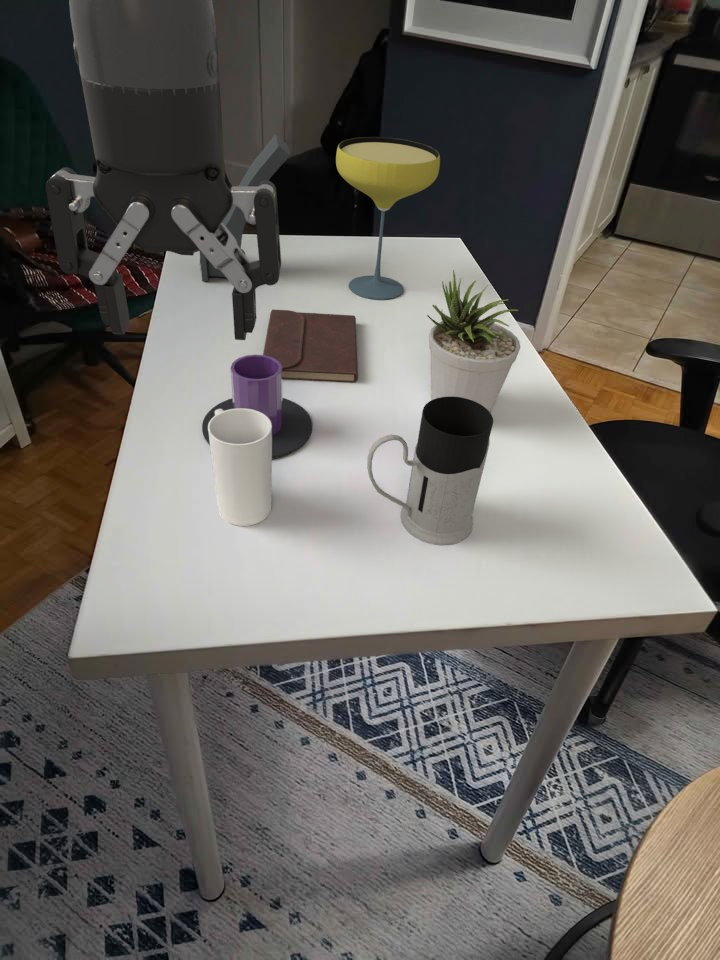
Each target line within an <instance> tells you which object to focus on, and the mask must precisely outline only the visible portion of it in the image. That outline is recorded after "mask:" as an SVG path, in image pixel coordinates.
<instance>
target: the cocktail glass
mask: <svg viewBox="0 0 720 960" xmlns="http://www.w3.org/2000/svg"><path fill="white" fill-rule="evenodd" d="M335 153H336V155H335V165H336V169H337V172H338V173H339V175H340V176H341V177H342V178H343V179H344V181H345V182H346V183H348V184H349V185H350V186H352V187H353V188H355V189H356V190H358V191H360V192H362V193H363V194H365V195H367V196H368V197H369V198H370V199H371V200H372V201H373V202H374V204H375V207H376V208H377V209H378V210H379V211H380V212H381V213H380V224H379V234H378V236H379V237H378V245H377V254H376V264H375V270H374V273H373V275H371V274H370V275H360V276H357V277H355V278H352V279H351V280H350V281H349V283H348V288H349V290H350V291H351V292H352V293H353V294H355V295H357V296H359V297H361V298H364V299H369V300H376V301H386V300H392V299H396V298H398V297H400V296H401V295H402V294H403V292H404V286H403V284H402V283H400V282H399V281H398V280H396V279H393V278H390V277H387V276H382V275H381V263H382V262H381V261H382V260H381V259H382V248H383V247H382V246H383V237H384V225H385V214H386V212H387V211H389V210H390V209H391V208H392V207H393V206H394V204H395V203H396V202H398V201H400V200H401V199H404V198H406V197H409V196H412V195H414V194H417V193H419V192H421V191H423V190H425V189H427V188H429V187H430V186H431V185H432V184H433V183H434V182H435V181H436V179H437V178H438V176H439V172H440V167H441V166H440V165H441V156H440V153H439V151H438V150H436V149H435V148H433V147H431V146H429V145H427V144H425V143H421V142H416V141H414V140H413V141H412V140H408V139H402V138H394V137H383V136H381V137H380V136H364V137H353V138H348V139H345V140H342V141H341V142H340V143H339V144H338V145H337V148H336V152H335Z"/></svg>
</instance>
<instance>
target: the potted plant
mask: <svg viewBox="0 0 720 960" xmlns="http://www.w3.org/2000/svg"><path fill="white" fill-rule="evenodd" d="M455 273H456V272H455V270H454V269H453V270H452V274H453V275H452V277H453V278H452V279H453V281H451V280H450V281H448V286H447V283H445V284H444V280H442V281H441V287H442V290H443V294H444V298H445V302H446V305H447V310H448V313H449V316H448V315H447V314H445V312H444V313H443V310H440V309H439V308H438V306H437V304H436V305H435V304H432V306H431V307H433V309H434V310H435V311H436V313H437V314H438V315H439V316H440V318H441V321H440V322H437V321H436V320H435V319H433V318H432V317H431V316H430V315H429V314H426V316H427V318H429V320H430V321H431V322H432V323H433V324H434V325H433V326H432V327H431V328H430V329H429V333H428V347H429V355H430V401H431V400H433V399H436V398H440V397H447V396H454V397H461V398H466V399H470V400H472V401H475V402H477V403H479V404H481V405H482V406H484V407H485V408H486V409H487V410H488V411H489V412H490V413H491V412H492V411H493V408H494V406H495V404H496V402H497V399H498V398H499V395H500V393H501V392H502V391H501V390H502V388H503V386H504V384H505V381H506V380H507V377H508V375H509V373H510V370H511V368H512V366H513V364H514V363H515V362H516V360H517V357H518V355H519V352H520V351H521V342H520V340H519V338H518V337H517V335H515V334H514V333H513V332H512V331H511V330H509V329H507V328H505V327H504V326H506V327H509V328H510V325H509V324H507V323H505V322H504V321H502V320H500V319H497V317H498V316H500V315H503V314H505V313H510V312H519V311H520V310H519V309H511V308H510V309H503V310H499V311H496V312H495V313H493V314H490V315H488V316H486V317H485V318H482V319H480V317H481V316H483V315H484V314H485V313H487V312H488V311H489V310H491V309H493V308H495V307H497V306H498V305H503V304H505V302H507V301H508V299H499V300H496V301H493V302H489V303H487V304H486V305H484V306H481V307H479V304H480V300H481V297H482V295H483V293H484V291H486V289H487V288H488V286H489V284H487V285H486V286H485V287H484V288H483V289H482V290H481V291H480V292H478V293H476V294H475V295H473V296H472V297H471V298H470V299H469V297H470V294H471V291H472V289H473V287H474V285H475V284H476V282H477V279H475V280H473V281H472V282H471V284H470V285H469V286H467V287H468V288H467V290H466V291H465V293H464V295H463V299H461V289H460V287H461V282H462V277H460V279H459V282H458V285H457V277H456V274H455ZM473 303H474V304H473ZM497 323H498V324H497ZM502 325H504V326H502Z"/></svg>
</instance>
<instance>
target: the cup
mask: <svg viewBox="0 0 720 960" xmlns="http://www.w3.org/2000/svg"><path fill="white" fill-rule="evenodd" d="M230 383H231V398H232V399H233V409H236V408H245V409H252V410H256V411H259V412H261V413H263V414H264V415H266V416H267V417H268V418H269V419H270V421H271V424H272V435H274V434H276V433H277V432H279V431H280V429H281V428H282V420H283V398H284V397H283V379H282V365H281V364H280V362H279V361H278V360H276V359H275V358H273V357H269V356H266V355H263V354H248V355H244V356H241V357H238V358H236V359H235V360H234V361H233V362H232V363H231V366H230Z"/></svg>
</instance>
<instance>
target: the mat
mask: <svg viewBox="0 0 720 960" xmlns="http://www.w3.org/2000/svg"><path fill="white" fill-rule="evenodd" d="M282 398H283V420H282V428H281V429H280V431H279V432H277V433H276V434H274V435H272V460H275V459H280V458H283V457H286V456H288V455H291V454H293V453H295V452H297V451H298V450H300V449H301V448H302V447H304V445H305V444H307V442H308V441H309V440H310V438H311V436H312V433H313V422H312V418H311V416H310V414H309V413H308V411H307V410H306V409H305V408H303V407H302V406H301V405H299V403H296V402H295V401H292V400H290V399H288V398H285V397H282ZM217 409H222V410H223V411H225V410H229V409H233V399H232V397H231V398H229V399H226V400H223V401H222V402H220V403H218V404H216V405H214V406H213V407H212V408H211V409H210V410H209V411H208V412H207V413H206V414H205V416H204V418H203V420H202V423H201V431H202V436H203V438H204V440H205V441H206V443H207V444H208V445H209V446H210V442H209V432H208V424H209V422H210V420H211V419H212V418H213V417H214V416H215V410H217Z"/></svg>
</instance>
